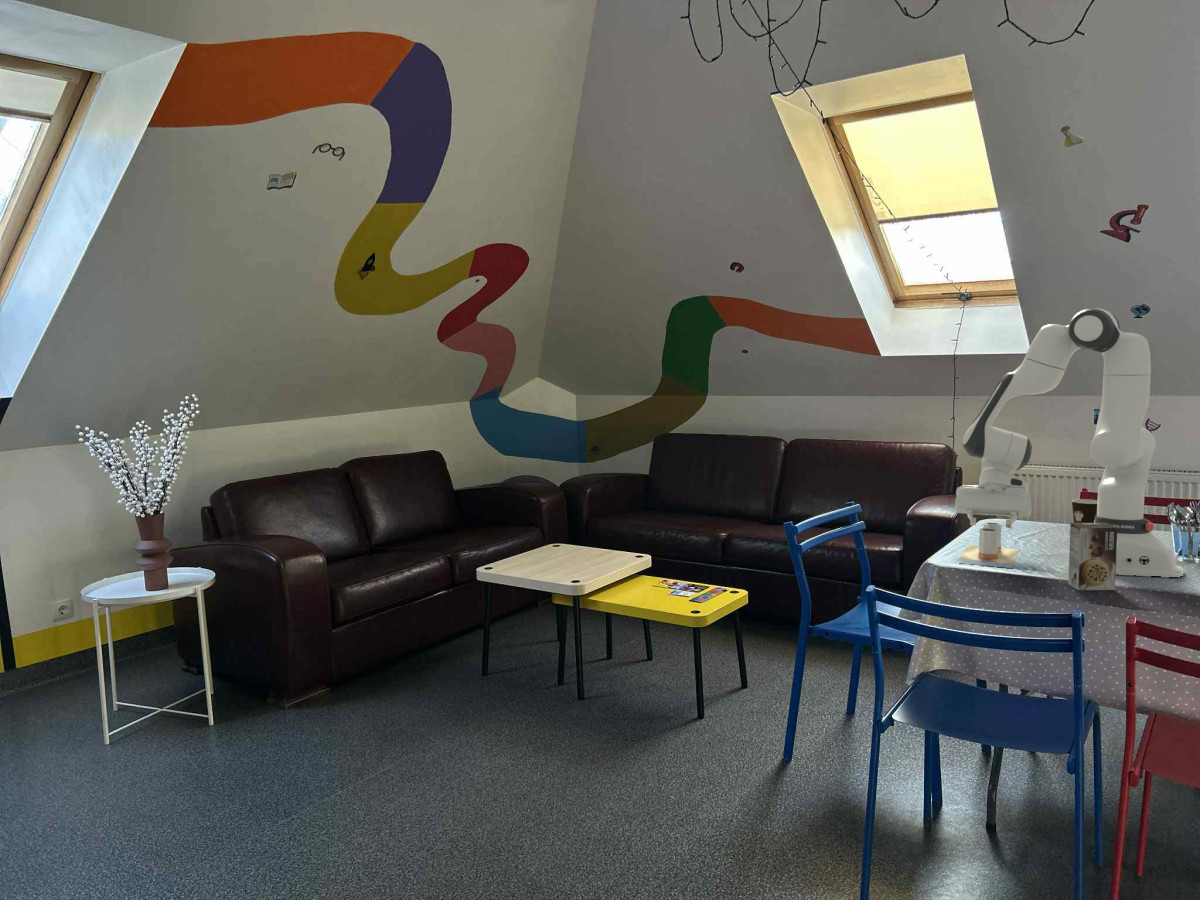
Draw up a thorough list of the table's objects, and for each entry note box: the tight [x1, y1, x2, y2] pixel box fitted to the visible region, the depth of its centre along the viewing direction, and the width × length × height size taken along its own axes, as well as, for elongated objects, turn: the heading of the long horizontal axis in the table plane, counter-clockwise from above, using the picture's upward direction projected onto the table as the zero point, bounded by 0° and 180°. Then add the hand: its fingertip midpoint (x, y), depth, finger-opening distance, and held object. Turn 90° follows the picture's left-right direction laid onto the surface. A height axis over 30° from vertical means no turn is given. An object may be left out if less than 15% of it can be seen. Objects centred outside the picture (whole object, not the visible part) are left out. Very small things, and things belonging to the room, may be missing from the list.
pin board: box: [958, 544, 1020, 570], centre depth 261 cm, size 14×20×6 cm
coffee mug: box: [1071, 498, 1098, 523], centre depth 296 cm, size 12×9×10 cm
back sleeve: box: [983, 521, 1002, 552], centre depth 265 cm, size 5×5×8 cm
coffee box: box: [1067, 522, 1117, 591], centre depth 229 cm, size 9×6×16 cm
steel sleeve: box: [978, 528, 998, 560], centre depth 257 cm, size 5×5×8 cm
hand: (990, 525), depth 258 cm, fingers open, 8 cm apart
